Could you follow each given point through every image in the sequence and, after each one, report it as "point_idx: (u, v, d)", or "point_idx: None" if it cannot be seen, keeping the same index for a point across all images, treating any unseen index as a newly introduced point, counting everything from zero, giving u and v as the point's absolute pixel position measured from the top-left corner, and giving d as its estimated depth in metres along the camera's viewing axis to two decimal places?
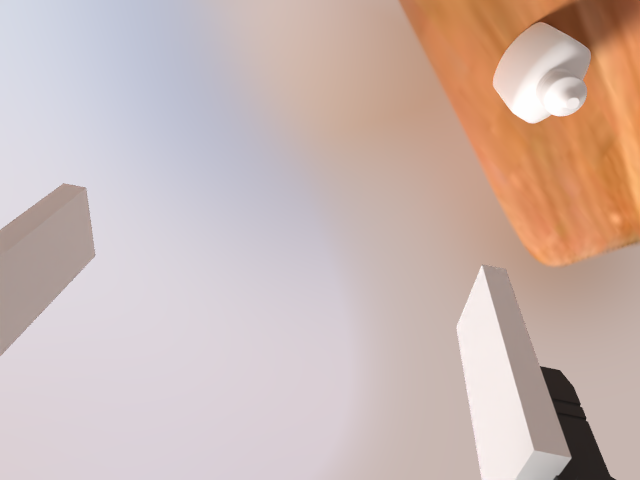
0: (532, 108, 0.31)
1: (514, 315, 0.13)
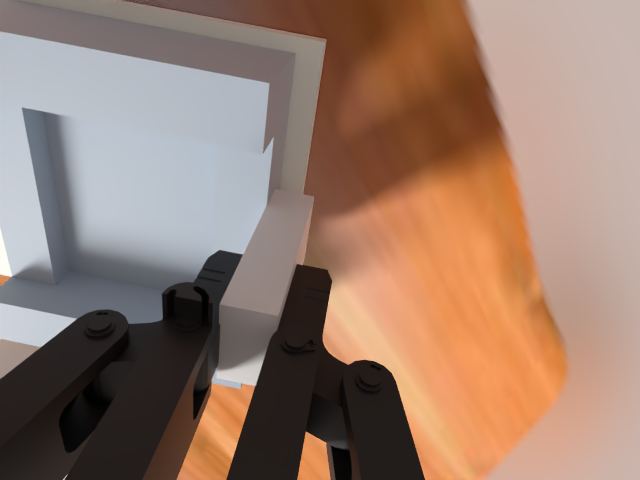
0: None
1: (298, 227, 0.15)
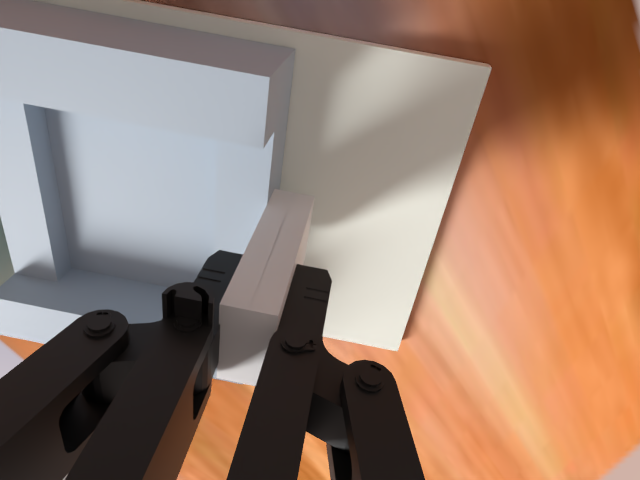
0: None
1: (298, 227, 0.15)
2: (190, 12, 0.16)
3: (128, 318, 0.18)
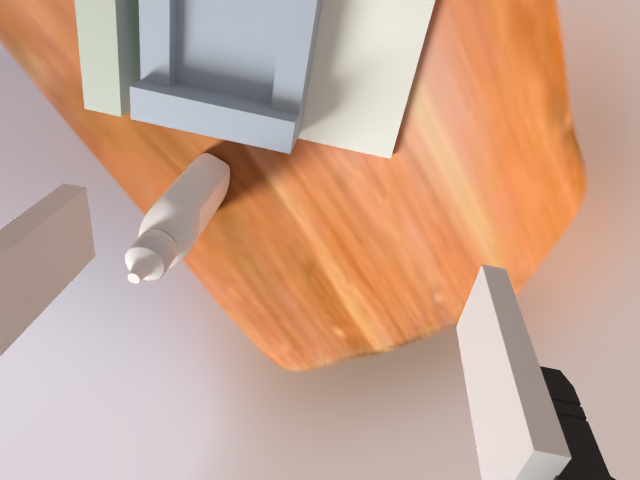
0: None
1: (514, 315, 0.13)
2: None
3: (218, 104, 0.28)
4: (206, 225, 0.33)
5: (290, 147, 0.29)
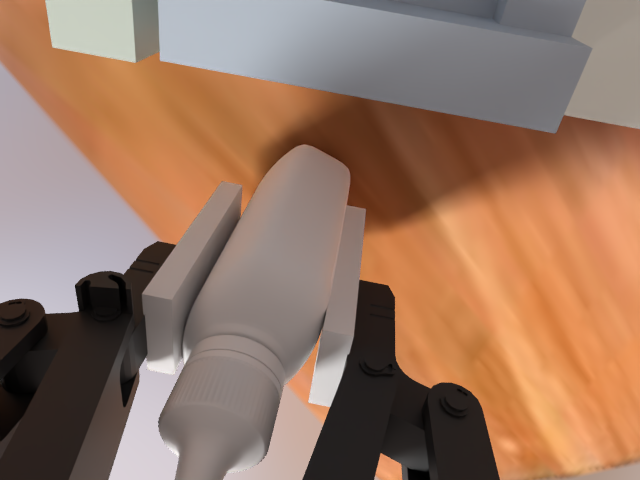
0: None
1: (356, 241, 0.15)
2: None
3: (385, 9, 0.11)
4: None
5: (560, 116, 0.12)
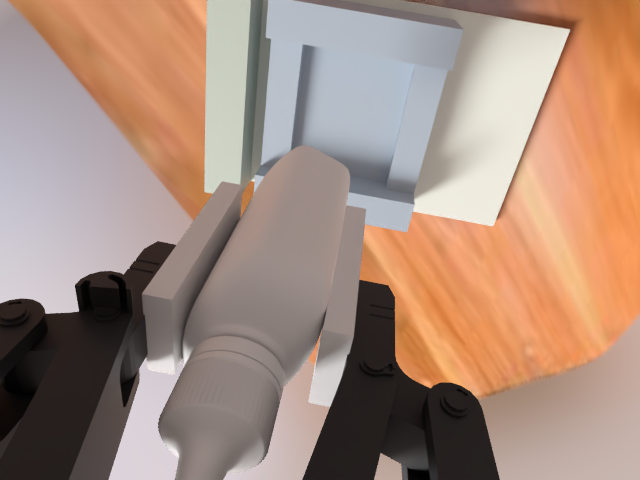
0: None
1: (355, 241, 0.15)
2: None
3: None
4: None
5: (407, 226, 0.30)
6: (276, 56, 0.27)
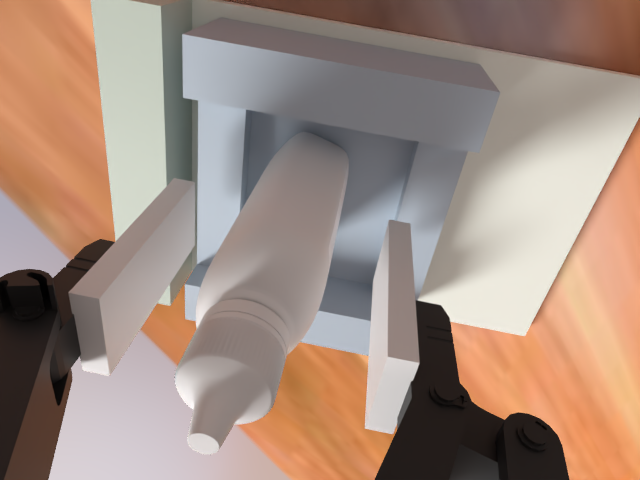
0: None
1: (405, 259, 0.15)
2: (389, 32, 0.18)
3: None
4: None
5: None
6: (207, 119, 0.18)
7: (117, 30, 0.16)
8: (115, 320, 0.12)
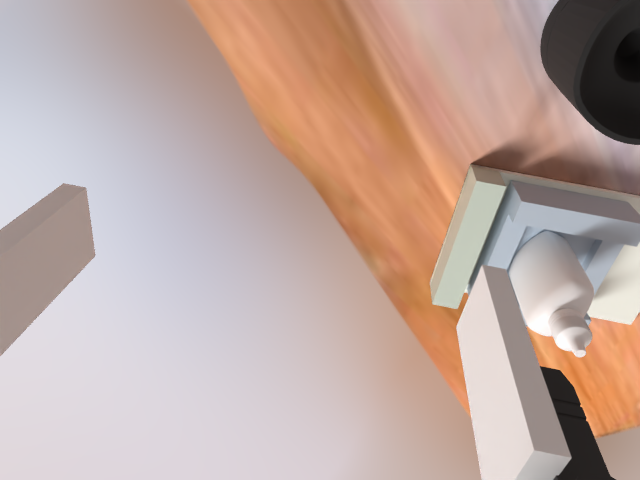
0: (545, 330, 0.36)
1: (514, 315, 0.13)
2: (588, 188, 0.40)
3: None
4: None
5: None
6: (507, 226, 0.40)
7: (483, 194, 0.39)
8: None
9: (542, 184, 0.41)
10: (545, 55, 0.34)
